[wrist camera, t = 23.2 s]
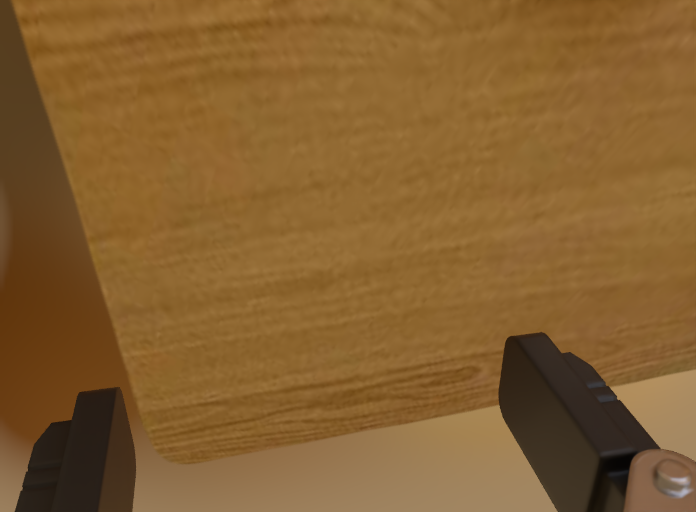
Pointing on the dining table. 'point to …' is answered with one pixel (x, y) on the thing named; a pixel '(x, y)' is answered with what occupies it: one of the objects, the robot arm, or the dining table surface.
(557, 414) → the robot arm
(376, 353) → the dining table surface
